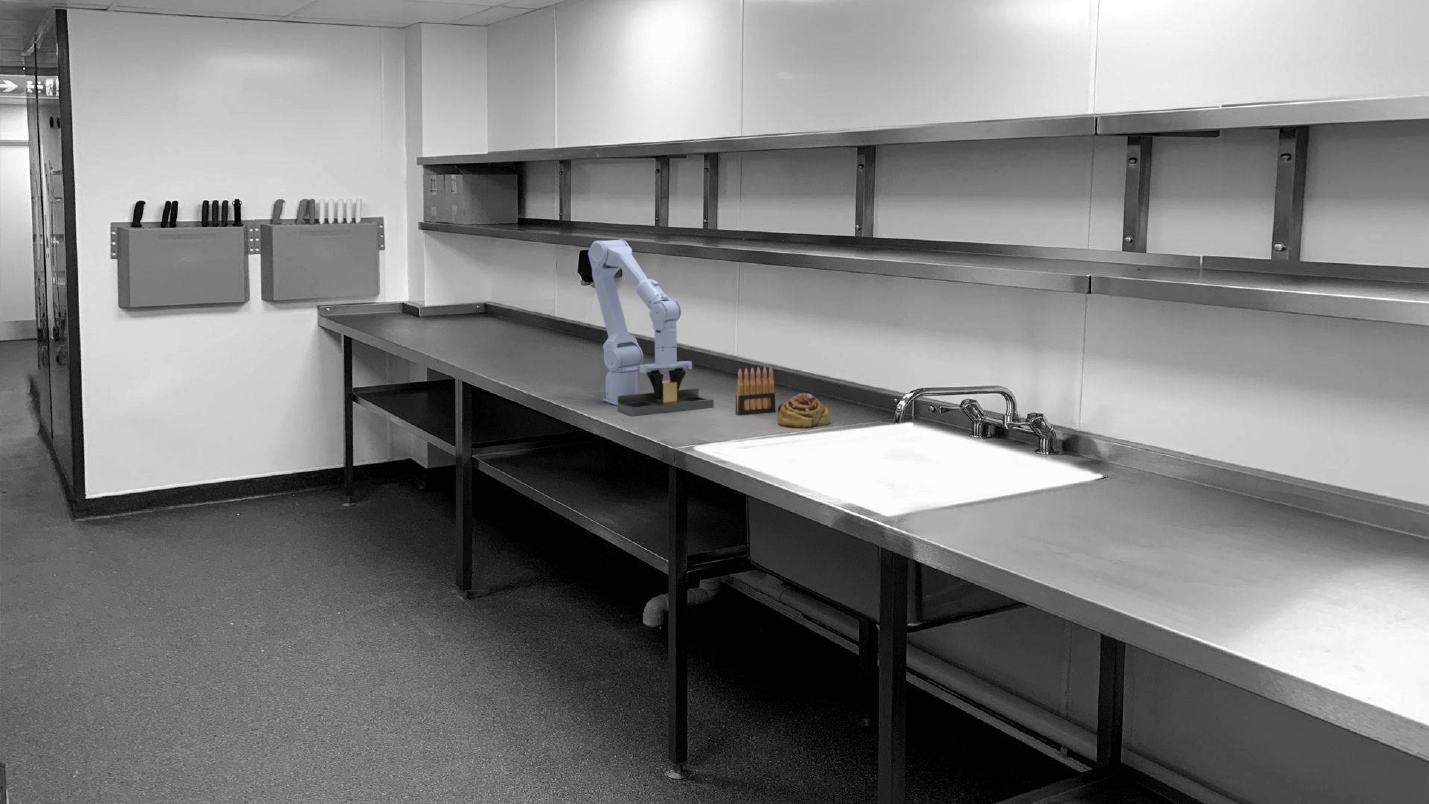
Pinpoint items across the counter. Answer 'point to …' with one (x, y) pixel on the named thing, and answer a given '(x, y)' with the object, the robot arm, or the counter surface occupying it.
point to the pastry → (803, 412)
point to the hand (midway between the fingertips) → (666, 398)
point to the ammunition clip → (755, 393)
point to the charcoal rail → (649, 405)
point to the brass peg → (668, 392)
